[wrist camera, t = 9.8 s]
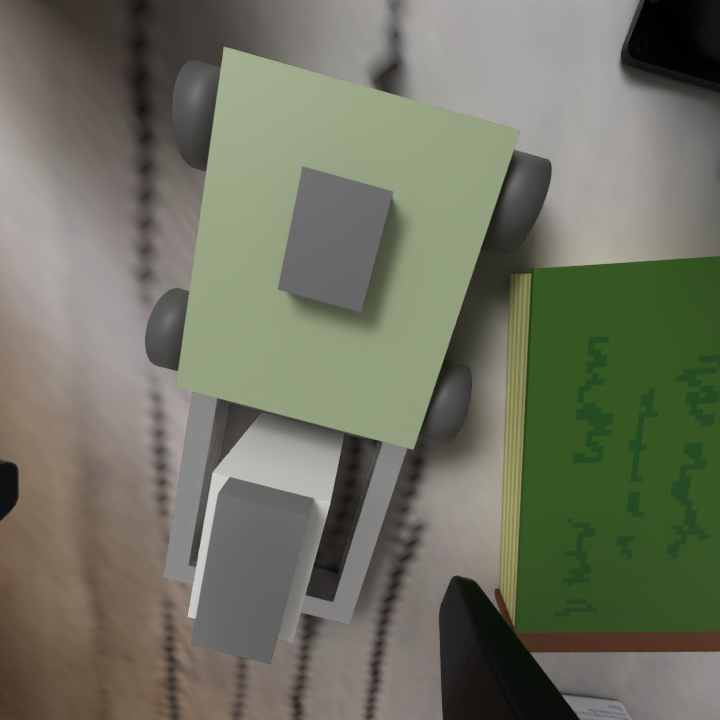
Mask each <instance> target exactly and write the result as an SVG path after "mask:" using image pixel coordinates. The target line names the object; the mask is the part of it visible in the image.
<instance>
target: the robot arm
mask: <svg viewBox="0 0 720 720" xmlns="http://www.w3.org/2000/svg"><path fill="white" fill-rule="evenodd" d="M635 44H638V45H640V48H641V52H640V53H638V52H637V51H635V48H634V46H635ZM621 57H622V60H623V62H624V63H625V64H627V65H629V66H632V67H636V68H639V69H643V70H646V71H650V72H653V73H657V74H660V75H663V76H667V77H670V78H674V79H677V80H681V81H684V82H688V83H691V84H695V85H698V86H702V87H705V88H709V89H712V90H715V91H719V92H720V0H640V2H639V4H638V7H637V10H636V12H635V15H634V18H633V20H632V23H631V26H630V28H629V31H628V34H627V36H626V39H625V41H624V44H623V47H622V51H621ZM18 498H19V478H18V467H17V465H16V464H14V463H13V462H9V461H5V460H1V459H0V521H1V520H2V519H3V518H4V517H5V516H6V515H7V514H8V513H9V512H10V511H11V510H12V509H13V508H14V506H15V505H16V503H17V501H18ZM439 631H440V661H441V690H442V711H443V720H580V718H579V717H578V716H577V714H576V713H575V712H574V711H573V709H572V708H571V707H570V705H569V704H568V703H567V701H566V700H565V699H564V697H563V696H562V695H561V693H560V692H559V691H558V689H557V688H556V687H555V685H554V684H553V683H552V681H551V680H550V679H549V678H548V676H547V675H546V674H545V672H544V671H543V670H542V668H541V667H540V666H539V664H538V663H537V662H536V660H535V659H534V658H533V656H532V655H531V654H530V652H529V651H528V650H527V649H526V647H525V646H524V645H523V643H522V642H521V641H520V639H519V638H518V637H517V635H516V634H515V633H514V631H513V630H512V629H511V627H510V626H509V625H508V623H507V622H506V621H505V619H504V618H503V617H502V616H501V614H500V613H499V612H498V610H497V609H496V608H495V606H494V605H493V604H492V602H491V601H490V600H489V598H488V597H487V596H486V594H485V593H484V592H483V590H482V589H481V588H480V586H479V585H478V584H477V583H476V582H475V581H474V580H472V579H469V578H465V577H461V576H453V578H452V579H451V581H450V583H449V586H448V588H447V591H446V593H445V596H444V598H443V601H442V603H441V607H440V612H439Z"/></svg>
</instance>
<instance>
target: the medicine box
mask: <svg viewBox="0 0 720 720" xmlns="http://www.w3.org/2000/svg"><path fill="white" fill-rule="evenodd" d="M561 695H562V696H563V697H564V699H565V700H566V701H567V703H568V704H569V705H570V707H571V708H572V709H573V711H574V712H575V713H576V714H577V716H578V717H579V718H580V720H632V719H631V717H630V716H629V714H628V712H627V710H626V709H625V707H624V705H623V704H622V703H621V702H620V701H615V700H608V699H602V698H593V697H582V696H573V695H563V694H561Z"/></svg>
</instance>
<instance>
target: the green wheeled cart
mask: <svg viewBox="0 0 720 720" xmlns="http://www.w3.org/2000/svg"><path fill="white" fill-rule="evenodd" d="M172 122H173V130H174V135H175V139H176V143H177V146H178V149H179V151H180V153H181V155H182V157H183V159H184V160H185V162H186V163H187V164H188V165H189V166H191V167H193V168H196V169H199V170H203V171H206V177H205V184H204V191H203V198H202V205H201V212H200V220H199V227H198V234H197V241H196V248H195V255H194V262H193V269H192V276H191V283H190V290H189V291H186V290H182V289H179V288H175V289H171V290H169V291H168V292H166V293H165V294H164V295H163V296H162V297H161V298H160V299H159V301H158V302H157V303H156V305H155V307H154V309H153V311H152V313H151V315H150V318H149V321H148V325H147V329H146V336H145V347H146V352H147V356H148V358H149V360H150V361H151V362H152V363H153V364H154V365H157V366H160V367H164V368H168V369H171V370H175V371H178V375H177V383H176V387H178V388H181V389H185V390H189V391H193V392H197V393H200V394H204V395H208V396H212V397H215V398H219V399H223V400H227V401H229V402H228V403H229V404H233V405H236V406H240V407H244V408H248V409H252V410H255V411H259V412H263V413H267V414H271V415H274V416H278V417H282V418H286V419H289V420H293V421H297V422H301V423H305V424H308V425H312V426H316V427H320V428H324V429H327V430H331V431H335V432H339V433H343V434H346V435H350V436H354V437H358V438H361V439H365V437H367V438H371V439H374V440H378V441H382V442H386V443H390V444H393V445H397V446H401V447H405V448H409V449H412V450H414V447H415V444H416V441H417V438H418V435H420V436H424V437H428V438H432V439H436V440H439V441H443V442H447V443H449V442H451V441H452V440H453V439H454V438H455V437H456V436H457V434H458V432H459V431H460V429H461V427H462V424H463V422H464V419H465V416H466V413H467V410H468V406H469V401H470V396H471V387H472V378H471V372H470V369H469V368H468V367H467V366H464V365H461V364H457V363H453V362H450V361H446V360H444V357H445V354H446V351H447V348H448V345H449V342H450V339H451V336H452V333H453V330H454V327H455V324H456V321H457V318H458V315H459V312H460V309H461V306H462V303H463V300H464V297H465V294H466V291H467V288H468V285H469V282H470V279H471V276H472V273H473V270H474V267H475V264H476V261H477V258H478V255H479V252H480V249H481V247H482V248H485V249H489V250H492V251H496V252H500V253H503V254H511V253H513V252H514V251H515V250H516V249H517V248H518V247H519V246H520V245H521V244H522V242H523V241H524V240H525V238H526V237H527V235H528V234H529V232H530V230H531V229H532V227H533V225H534V223H535V221H536V219H537V217H538V215H539V213H540V211H541V208H542V206H543V203H544V201H545V198H546V195H547V192H548V188H549V184H550V180H551V172H552V167H551V162H550V161H549V160H548V159H545V158H541V157H538V156H534V155H531V154H527V153H524V152H520V151H517V150H514V148H515V145H516V142H517V139H518V136H519V133H520V130H517V129H513V128H510V127H506V126H503V125H499V124H496V123H492V122H489V121H485V120H482V119H478V118H475V117H471V116H467V115H464V114H460V113H457V112H453V111H450V110H446V109H443V108H439V107H436V106H432V105H429V104H425V103H422V102H418V101H415V100H411V99H407V98H404V97H400V96H397V95H393V94H390V93H386V92H383V91H379V90H376V89H372V88H369V87H365V86H362V85H358V84H354V83H351V82H347V81H344V80H340V79H337V78H333V77H330V76H326V75H323V74H319V73H316V72H312V71H309V70H305V69H301V68H298V67H294V66H291V65H287V64H284V63H280V62H277V61H273V60H270V59H266V58H263V57H259V56H256V55H252V54H248V53H245V52H241V51H238V50H234V49H231V48H227V47H224V49H223V56H222V64H221V67H219V66H215V65H212V64H208V63H204V62H201V61H197V60H190V61H188V62H187V63H185V64H184V66H183V67H182V68H181V70H180V72H179V74H178V76H177V79H176V82H175V86H174V91H173V99H172Z"/></svg>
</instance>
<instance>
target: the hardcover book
mask: <svg viewBox="0 0 720 720" xmlns="http://www.w3.org/2000/svg"><path fill="white" fill-rule="evenodd" d="M495 598H496V600H497V603H498V606H499V609H500V612H501V614H502V617H503V618H504V619H505V621H506V622H507V623H508V625H509V626H510V627H511V629H512V630H513V631H514V633H515V634H516V635H517V637H518V638H519V639H520V641H521V642H522V643H523V645H524V646H525V647H526V649H527V650H528V651H529V652H708V651H720V256H719V257H704V258H689V259H674V260H659V261H644V262H629V263H614V264H599V265H584V266H569V267H554V268H539V269H531V273H522V274H510V279H509V309H508V340H507V371H506V401H505V432H504V462H503V493H502V524H501V554H500V585H499V589H495Z"/></svg>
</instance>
